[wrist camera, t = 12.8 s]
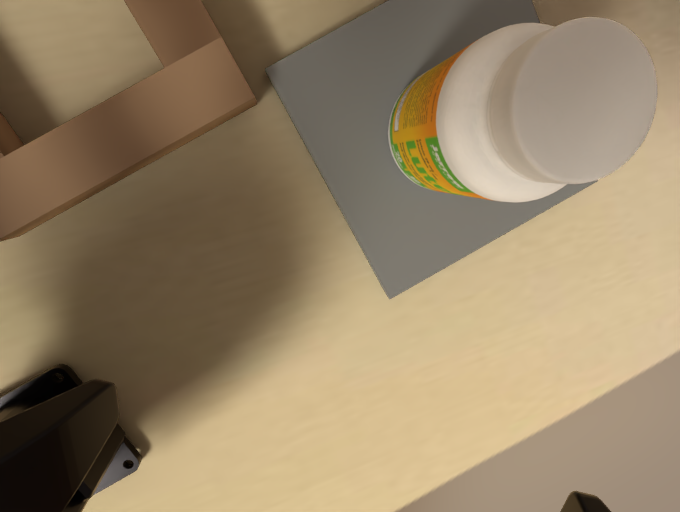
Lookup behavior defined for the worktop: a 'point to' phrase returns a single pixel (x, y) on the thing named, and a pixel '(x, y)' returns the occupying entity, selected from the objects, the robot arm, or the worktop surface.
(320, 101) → the slate mat
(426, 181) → the supplement bottle
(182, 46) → the hole board
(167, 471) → the worktop surface
